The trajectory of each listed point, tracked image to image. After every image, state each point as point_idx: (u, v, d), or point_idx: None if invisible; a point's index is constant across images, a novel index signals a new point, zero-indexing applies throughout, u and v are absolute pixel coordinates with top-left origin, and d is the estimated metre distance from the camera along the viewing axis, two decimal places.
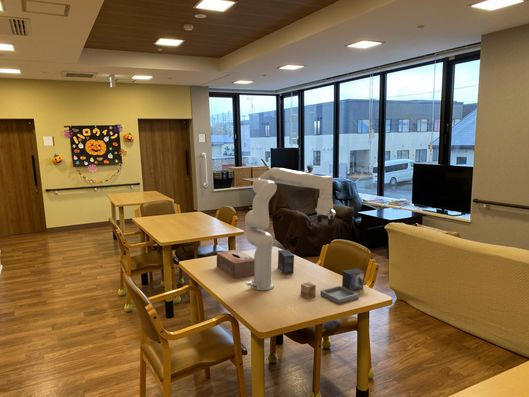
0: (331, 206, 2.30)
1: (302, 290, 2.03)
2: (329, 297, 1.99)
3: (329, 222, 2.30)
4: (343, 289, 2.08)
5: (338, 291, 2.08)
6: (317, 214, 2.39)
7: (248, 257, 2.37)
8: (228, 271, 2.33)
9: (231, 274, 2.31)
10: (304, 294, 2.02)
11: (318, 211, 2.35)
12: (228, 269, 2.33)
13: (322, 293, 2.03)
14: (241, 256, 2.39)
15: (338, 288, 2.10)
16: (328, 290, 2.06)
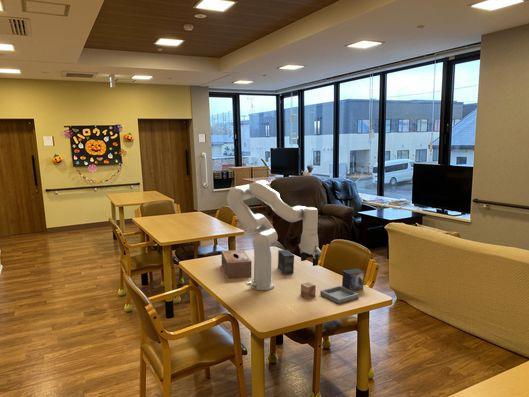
0: (316, 243, 1.96)
1: (302, 290, 2.03)
2: (329, 297, 1.99)
3: (314, 262, 1.96)
4: (343, 289, 2.08)
5: (338, 291, 2.08)
6: (301, 251, 2.05)
7: (246, 258, 2.35)
8: (225, 270, 2.35)
9: (226, 273, 2.32)
10: (304, 294, 2.02)
11: (301, 248, 2.01)
12: (225, 269, 2.35)
13: (322, 293, 2.03)
14: (240, 256, 2.38)
15: (338, 288, 2.10)
16: (328, 290, 2.06)
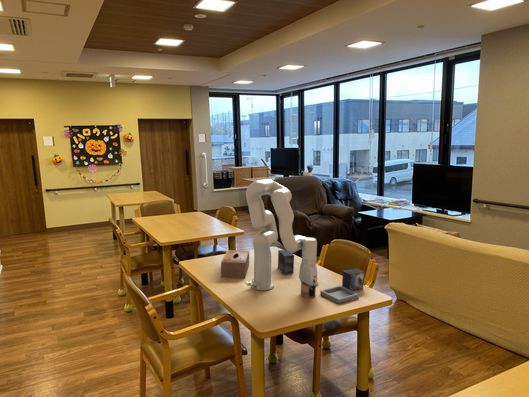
0: (315, 274, 1.98)
1: (302, 290, 2.03)
2: (329, 297, 1.99)
3: None
4: (343, 289, 2.08)
5: (338, 291, 2.08)
6: (301, 283, 2.06)
7: (243, 259, 2.33)
8: None
9: None
10: (304, 294, 2.02)
11: (300, 278, 2.04)
12: None
13: (322, 293, 2.03)
14: (239, 257, 2.37)
15: (338, 288, 2.10)
16: (328, 290, 2.06)
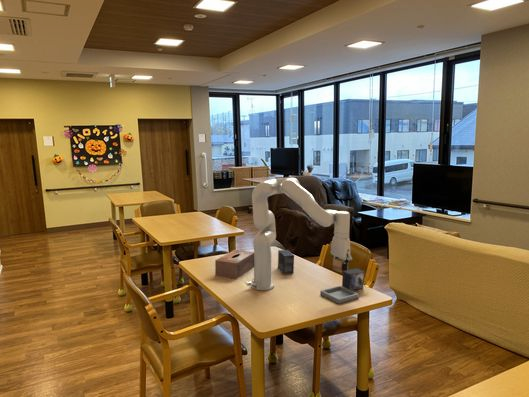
0: (348, 247, 1.95)
1: (334, 265, 2.00)
2: (329, 297, 1.99)
3: None
4: (343, 289, 2.08)
5: (338, 291, 2.08)
6: None
7: (238, 259, 2.32)
8: None
9: None
10: (337, 268, 1.99)
11: (332, 252, 2.00)
12: None
13: (322, 293, 2.03)
14: (237, 257, 2.37)
15: (338, 288, 2.10)
16: (328, 290, 2.06)
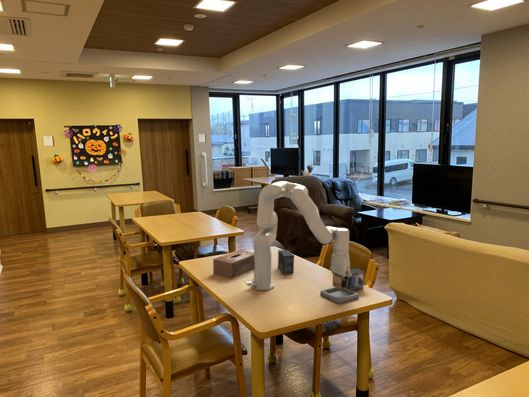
0: (348, 264, 1.96)
1: (334, 281, 2.01)
2: (329, 297, 1.99)
3: (343, 284, 1.98)
4: (343, 289, 2.08)
5: (338, 291, 2.08)
6: (333, 274, 2.04)
7: (235, 260, 2.32)
8: None
9: None
10: (336, 285, 2.00)
11: (332, 269, 2.02)
12: None
13: (322, 293, 2.03)
14: (236, 257, 2.37)
15: None
16: (328, 290, 2.06)
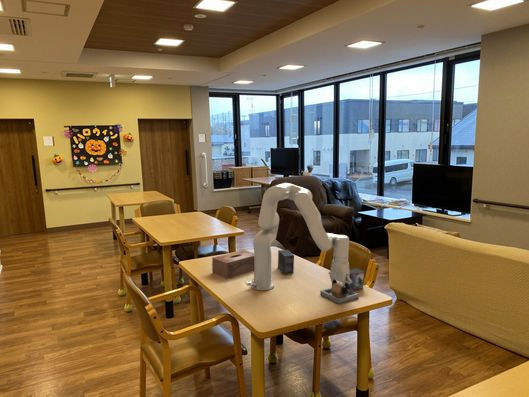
0: (347, 271, 1.97)
1: (333, 290, 2.02)
2: (329, 297, 1.99)
3: (343, 291, 1.98)
4: None
5: None
6: (331, 280, 2.05)
7: (233, 260, 2.32)
8: None
9: None
10: (335, 294, 2.01)
11: (332, 275, 2.02)
12: None
13: (322, 293, 2.03)
14: (235, 257, 2.37)
15: None
16: (328, 290, 2.06)
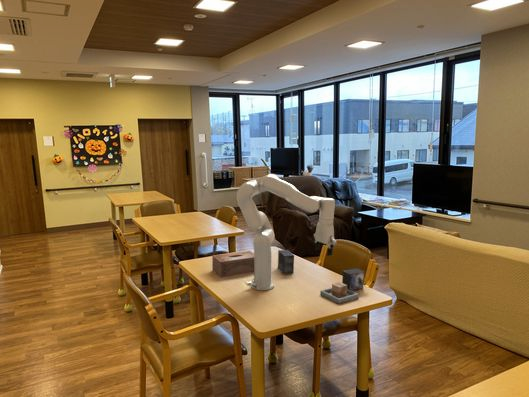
0: (332, 234, 1.99)
1: (333, 290, 2.02)
2: (329, 297, 1.99)
3: None
4: None
5: None
6: (315, 241, 2.08)
7: (229, 259, 2.32)
8: None
9: None
10: (335, 294, 2.01)
11: (316, 238, 2.05)
12: None
13: (322, 293, 2.03)
14: (233, 257, 2.37)
15: None
16: (328, 290, 2.06)
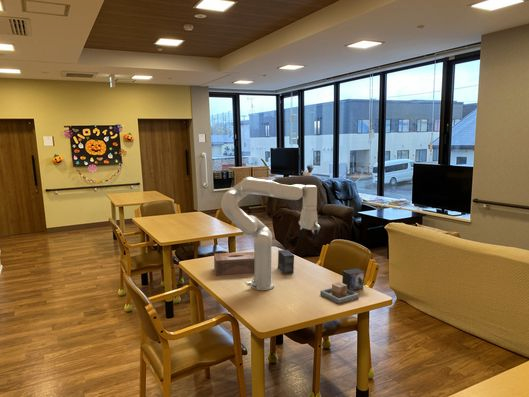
0: (315, 219, 2.04)
1: (333, 290, 2.02)
2: (329, 297, 1.99)
3: (313, 237, 2.05)
4: None
5: None
6: (300, 228, 2.13)
7: (226, 259, 2.33)
8: None
9: None
10: (335, 294, 2.01)
11: (301, 224, 2.10)
12: None
13: (322, 293, 2.03)
14: (232, 257, 2.37)
15: None
16: (328, 290, 2.06)
